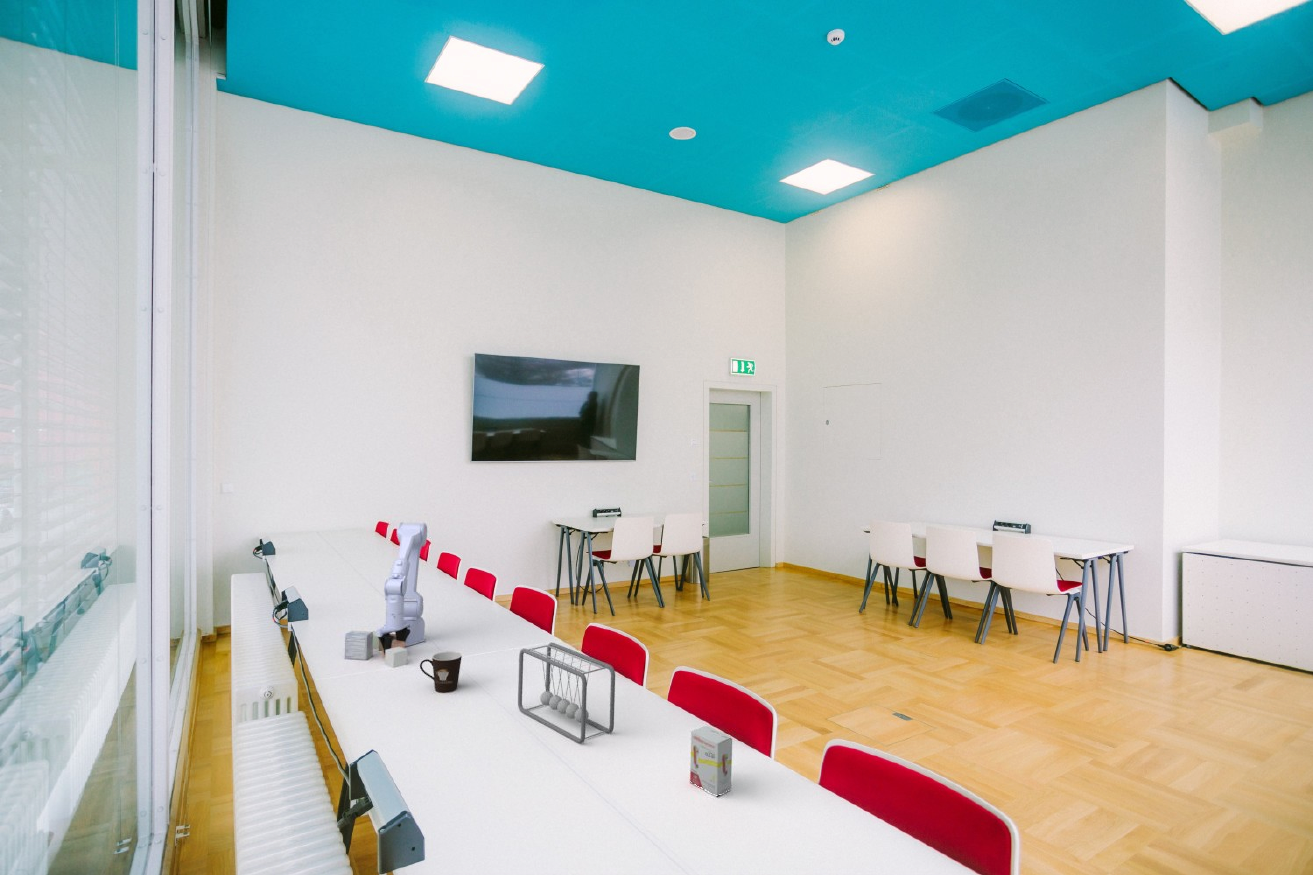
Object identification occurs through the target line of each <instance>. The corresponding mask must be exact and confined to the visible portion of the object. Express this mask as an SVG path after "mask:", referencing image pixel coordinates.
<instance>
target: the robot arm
mask: <svg viewBox="0 0 1313 875" xmlns="http://www.w3.org/2000/svg"><path fill="white" fill-rule="evenodd" d="M396 537H397V540H398V543H399V549H398V554H397V556H398V557H397V559H395V560H394V561H393V562H392V566H391V571H390V575H389V578H388V579H386V580H385V582H384V590H383V592H384V595H385V596H384V601H386V603H385V604H386V607H385V610H386V611H385V624H384V626H383V627H381V628H380V629H376V630H375V631H376V636H377V637H378V638H379V640H380V642H381V644H382V647H383V650H384V655H385V654H386V650H387V649H391V645H392V641H393V638H394V636H391V635H390V634H393V633H394V634H396V640H399V641H404V642H405V648H407V647H410V646H413V645H416V644H419V643H422V642H425V641H427V639H426V638H425V632H426V631H425V627H426V625H425V623H426V622H425V620H424V618H423V617H422V615H423V613H424V597H423V596H422V595H421V594H420V593H419V592H418V591H417V586H418V578H419V577H418V576H419V566H420V554H421V550H422V547H425V546H426V543H427V538H428V526H427V523H425V522H422V523H421V522H418V523H417V522H415V523H414V522H400V523H398V525H397V527H396Z"/></svg>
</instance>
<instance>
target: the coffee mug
mask: <svg viewBox="0 0 1313 875" xmlns="http://www.w3.org/2000/svg"><path fill="white" fill-rule="evenodd" d="M462 655H463V654H462V653H460V652H459V651H458V652H457V651H443V652H437V653H434V654H433V655H432V656H431V659H428V658H427V659H424V660H422V661H421V662H420V664H419V668H420V670H421V672H422V673H423V674H424V675H426V676H427V677H428V678H430V679H432V680H433V683H434V691H435V692H437V693H440V694H448V693H453V692H455V691H456V690H457V689H458V685H459V676H460V670H461V663H462V657H463V656H462ZM425 662H429V663H430V664H431V666H432V672H433V676H432V675H431V674H429V673H428V672H426V671H425V670H424V668H423V663H425Z"/></svg>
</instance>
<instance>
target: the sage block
mask: <svg viewBox="0 0 1313 875" xmlns="http://www.w3.org/2000/svg"><path fill="white" fill-rule="evenodd" d="M372 632H373V650H379V638H378V637H377V636H376V630H374V631H372Z"/></svg>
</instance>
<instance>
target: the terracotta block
mask: <svg viewBox="0 0 1313 875" xmlns="http://www.w3.org/2000/svg"><path fill="white" fill-rule="evenodd" d="M395 647H402V648H405V649H406V647H405V642H404V641H399V640H393V641H392V645H391V648H395ZM382 658H383V659H385V655H384V650H383V651H382Z"/></svg>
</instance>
